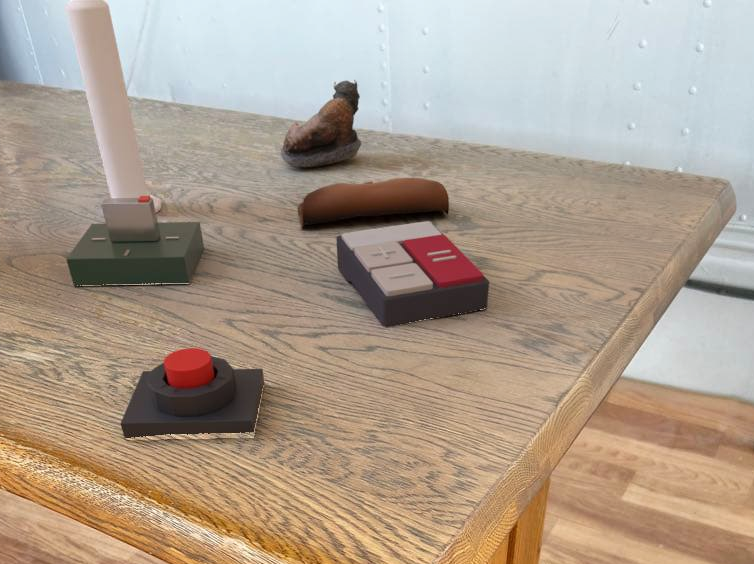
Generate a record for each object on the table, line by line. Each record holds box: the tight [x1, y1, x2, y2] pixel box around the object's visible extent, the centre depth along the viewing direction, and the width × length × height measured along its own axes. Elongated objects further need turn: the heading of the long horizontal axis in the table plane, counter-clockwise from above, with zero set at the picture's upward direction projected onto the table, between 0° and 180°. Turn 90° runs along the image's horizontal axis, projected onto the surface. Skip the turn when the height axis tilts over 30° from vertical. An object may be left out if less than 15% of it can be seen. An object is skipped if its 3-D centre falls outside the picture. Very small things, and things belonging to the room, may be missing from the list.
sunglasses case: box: [297, 177, 450, 229], centre depth 98 cm, size 18×7×7 cm
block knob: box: [100, 195, 160, 242], centre depth 84 cm, size 5×2×4 cm, turn 92°
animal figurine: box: [279, 79, 362, 168], centre depth 112 cm, size 12×7×10 cm, turn 118°
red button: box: [163, 347, 215, 389], centre depth 63 cm, size 4×4×2 cm
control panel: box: [66, 221, 205, 287], centre depth 87 cm, size 12×10×3 cm
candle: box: [65, 0, 162, 214], centre depth 93 cm, size 7×7×25 cm
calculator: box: [336, 220, 490, 328], centre depth 82 cm, size 11×4×15 cm
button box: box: [120, 355, 265, 439], centre depth 64 cm, size 10×8×4 cm
